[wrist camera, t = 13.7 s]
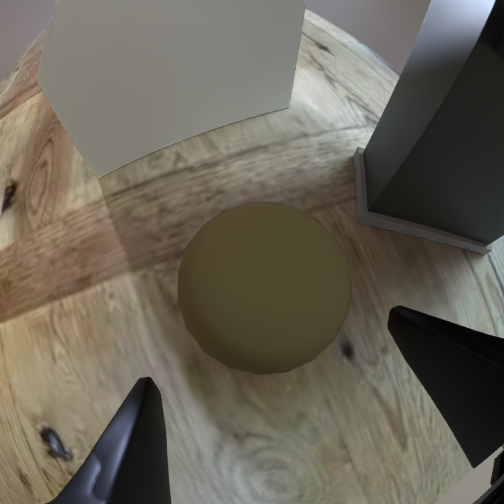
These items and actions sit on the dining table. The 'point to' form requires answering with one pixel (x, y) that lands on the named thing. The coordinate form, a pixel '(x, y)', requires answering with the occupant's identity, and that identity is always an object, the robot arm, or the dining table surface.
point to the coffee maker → (442, 134)
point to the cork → (264, 288)
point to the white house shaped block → (164, 70)
